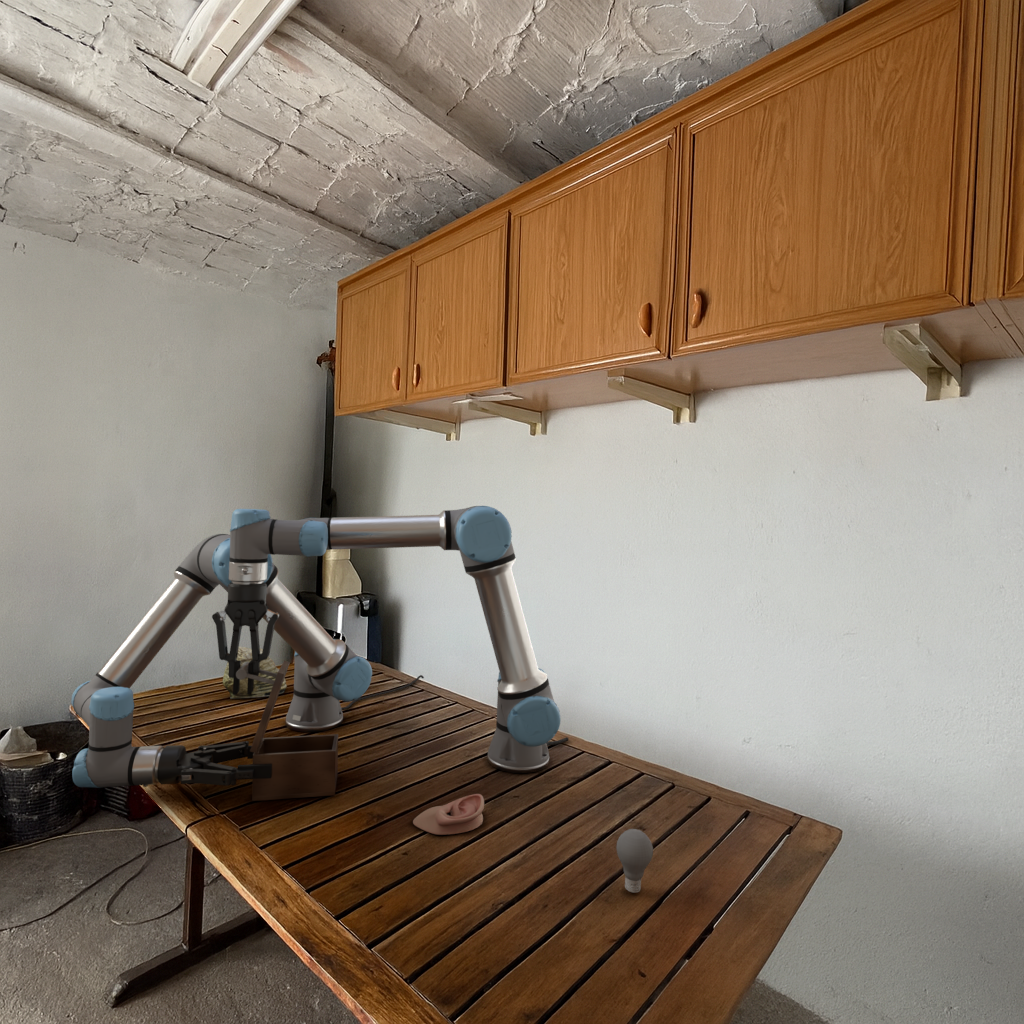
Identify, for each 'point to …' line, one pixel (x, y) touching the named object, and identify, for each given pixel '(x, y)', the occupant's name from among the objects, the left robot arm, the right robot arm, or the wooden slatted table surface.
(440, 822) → the anatomical model
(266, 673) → the lid
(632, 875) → the light bulb
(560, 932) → the wooden slatted table surface
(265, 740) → the chest
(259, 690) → the fossil
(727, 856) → the wooden slatted table surface
